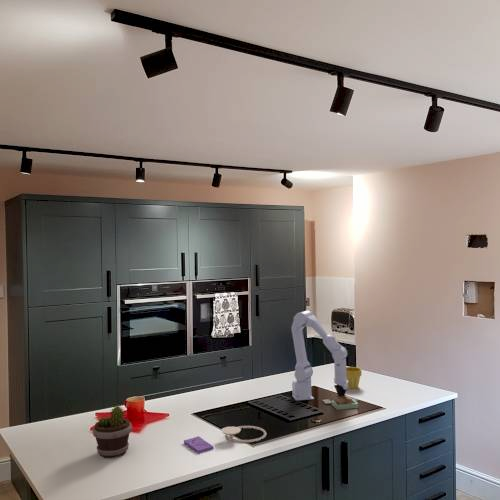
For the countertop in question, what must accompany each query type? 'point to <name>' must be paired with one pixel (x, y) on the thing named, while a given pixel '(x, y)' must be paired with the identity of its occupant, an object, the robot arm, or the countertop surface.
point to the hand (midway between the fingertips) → (341, 400)
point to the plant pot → (353, 377)
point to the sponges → (198, 444)
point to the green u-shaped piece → (342, 406)
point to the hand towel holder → (235, 430)
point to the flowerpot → (112, 434)
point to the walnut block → (343, 400)
